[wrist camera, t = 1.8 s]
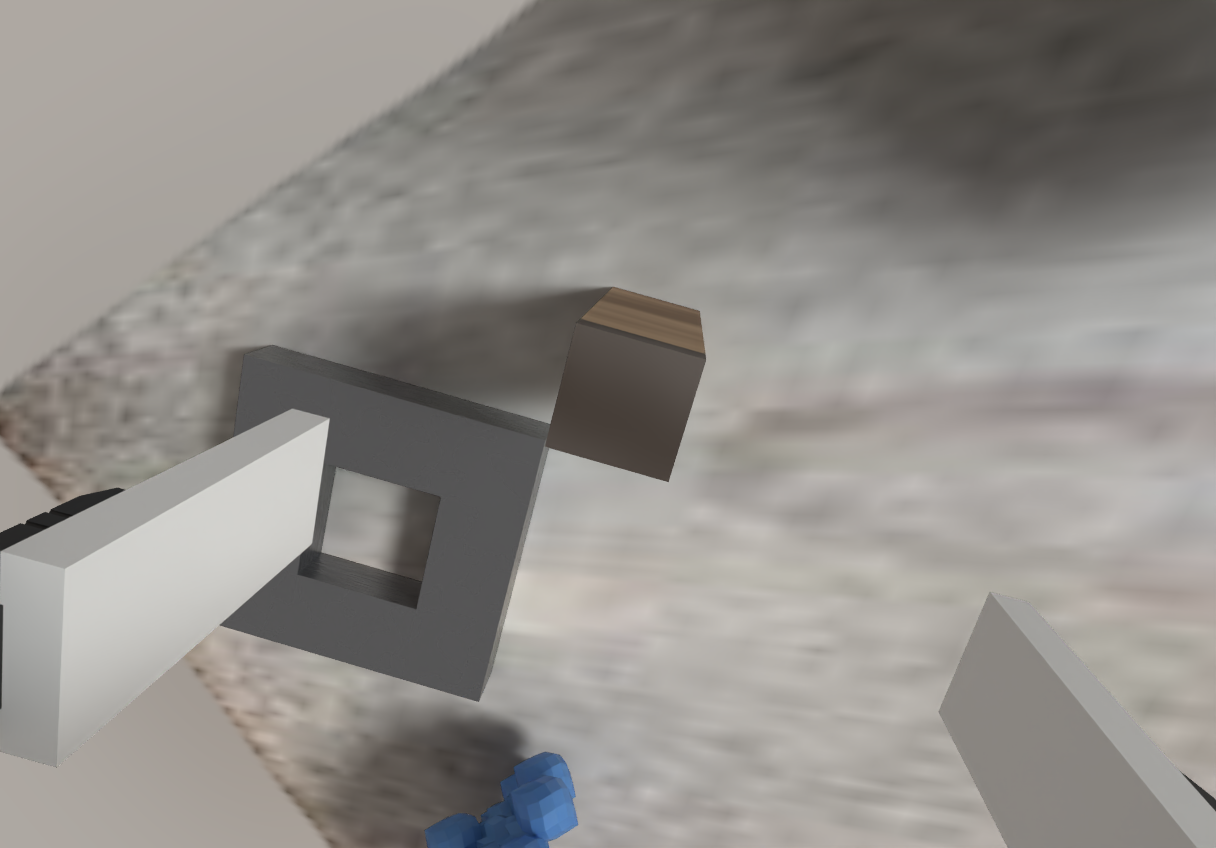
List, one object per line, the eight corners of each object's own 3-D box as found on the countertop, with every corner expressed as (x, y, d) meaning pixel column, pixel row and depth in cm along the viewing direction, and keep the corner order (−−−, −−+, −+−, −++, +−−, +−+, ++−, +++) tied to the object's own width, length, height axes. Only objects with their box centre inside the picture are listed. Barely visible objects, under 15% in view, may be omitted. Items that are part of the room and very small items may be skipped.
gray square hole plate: (273, 345, 37) (244, 354, 34) (554, 425, 36) (545, 440, 34) (237, 597, 40) (209, 622, 38) (491, 672, 40) (478, 701, 38)
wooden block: (613, 286, 34) (576, 323, 23) (699, 311, 34) (706, 359, 23) (590, 371, 35) (544, 446, 24) (674, 394, 35) (668, 482, 24)
